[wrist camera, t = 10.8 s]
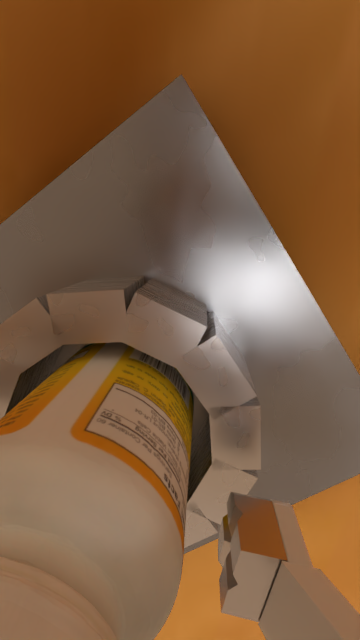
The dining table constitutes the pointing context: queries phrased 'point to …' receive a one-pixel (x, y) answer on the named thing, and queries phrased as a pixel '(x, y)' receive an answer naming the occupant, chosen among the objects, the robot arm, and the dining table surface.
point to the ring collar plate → (209, 256)
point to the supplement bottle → (95, 498)
